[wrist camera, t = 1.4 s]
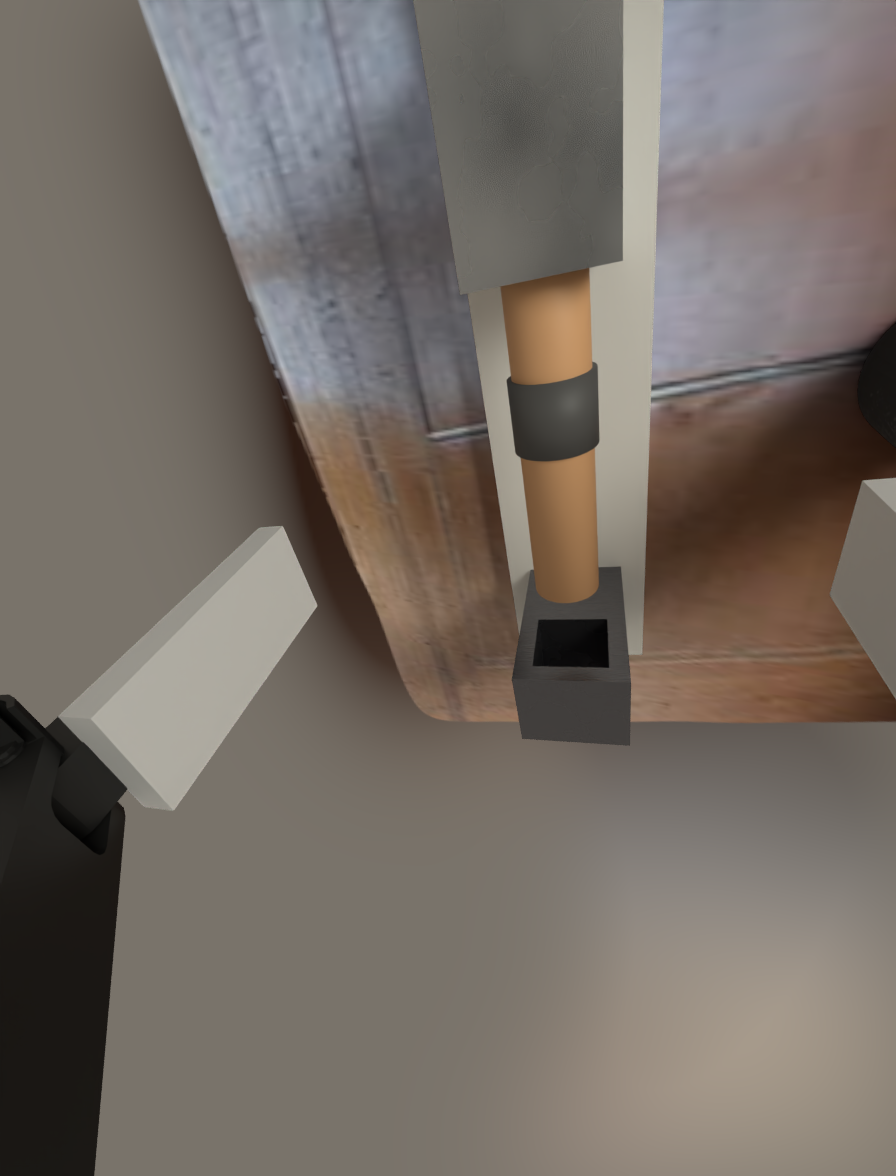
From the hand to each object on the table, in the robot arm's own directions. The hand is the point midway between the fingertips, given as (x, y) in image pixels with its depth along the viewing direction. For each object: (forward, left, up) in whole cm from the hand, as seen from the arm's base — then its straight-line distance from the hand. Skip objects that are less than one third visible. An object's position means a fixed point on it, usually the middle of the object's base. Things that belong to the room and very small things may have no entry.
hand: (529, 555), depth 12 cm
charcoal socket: (+15, 0, -19) cm, 24 cm away
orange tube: (-2, 0, -13) cm, 13 cm away
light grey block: (-10, 0, -19) cm, 21 cm away
